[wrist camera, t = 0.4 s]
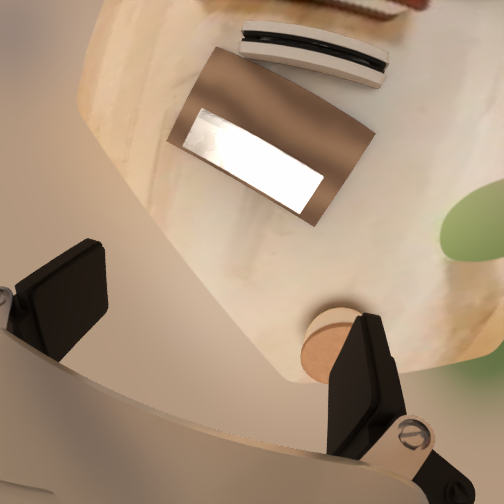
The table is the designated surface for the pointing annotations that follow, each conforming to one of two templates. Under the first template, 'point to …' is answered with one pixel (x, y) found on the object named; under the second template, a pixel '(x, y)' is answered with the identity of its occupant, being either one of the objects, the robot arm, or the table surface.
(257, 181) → the plate
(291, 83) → the mounting board
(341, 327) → the lidded jar
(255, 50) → the white arched block
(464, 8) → the table surface
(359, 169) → the table surface
